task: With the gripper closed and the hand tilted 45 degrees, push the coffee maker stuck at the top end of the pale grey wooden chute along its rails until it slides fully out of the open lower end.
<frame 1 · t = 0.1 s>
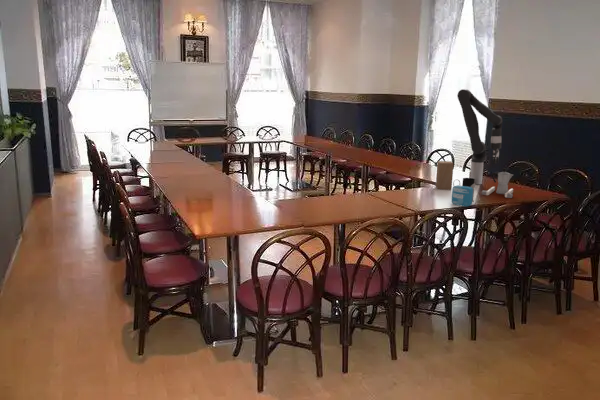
hand: (495, 163, 379), 17 cm above the table, tool pointing down, fingers open, 8 cm apart
data package: (461, 205, 317), on the table
coffee maker: (500, 193, 356), resting in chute
wooden block: (443, 188, 369), on the table
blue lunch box: (462, 200, 330), on the table
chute: (499, 193, 353), on the table
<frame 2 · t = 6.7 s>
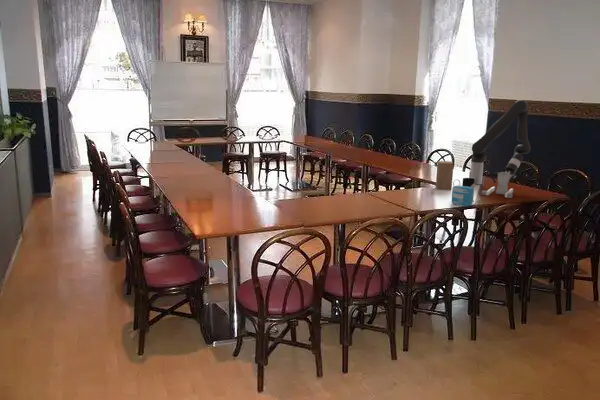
hand: (502, 184, 356), 6 cm above the table, tool tilted 45°, fingers closed
coffee maker: (500, 193, 354), resting in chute, touching gripper
everything else where it was.
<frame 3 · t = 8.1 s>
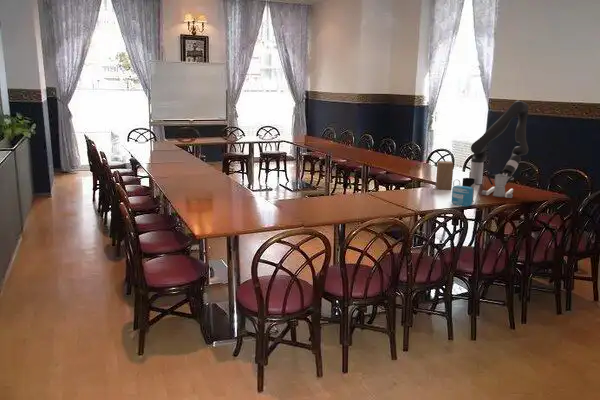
hand: (499, 186, 348), 6 cm above the table, tool tilted 45°, fingers closed
coffee maker: (497, 195, 346), resting in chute, touching gripper
everything else where it was.
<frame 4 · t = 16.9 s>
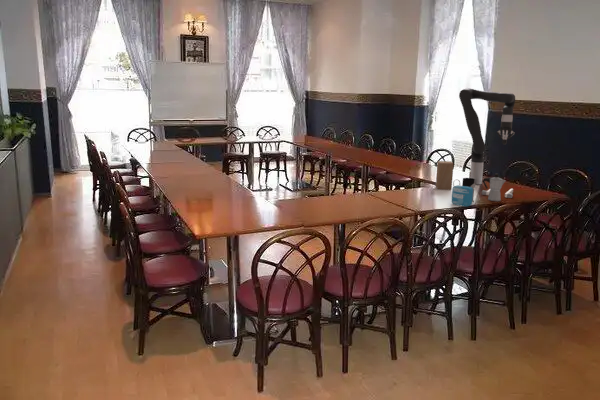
hand: (504, 144, 366), 33 cm above the table, tool pointing down, fingers closed
coffee maker: (492, 200, 333), on the table
everything else where it was.
at the end: coffee maker inside the target area on the table beside the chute (0.5 cm from its centre), on the table; coffee maker tilted 0° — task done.
